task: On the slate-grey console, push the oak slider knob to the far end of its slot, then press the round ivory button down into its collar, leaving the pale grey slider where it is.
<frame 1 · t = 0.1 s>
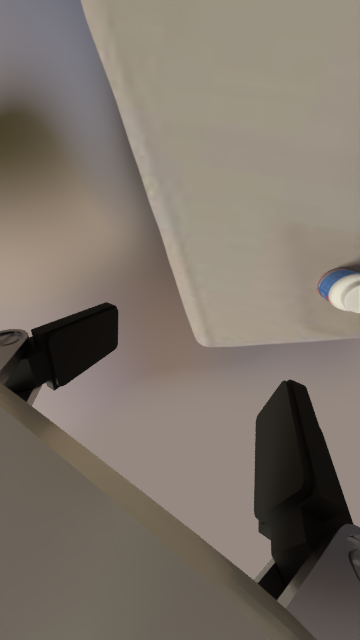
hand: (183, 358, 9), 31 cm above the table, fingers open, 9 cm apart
pill bottle: (334, 283, 29), on the table
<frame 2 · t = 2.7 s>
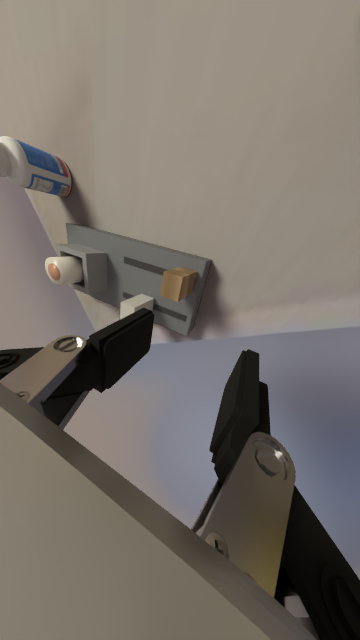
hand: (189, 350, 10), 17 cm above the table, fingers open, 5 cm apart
pill bottle: (62, 179, 29), on the table
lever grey: (137, 308, 26), point 6 cm above the table, slide at 6.0 cm
panel: (135, 275, 30), on the table
lever oak: (179, 283, 21), point 6 cm above the table, slide at 0.0 cm
button ivory: (67, 270, 26), point 8 cm above the table, slide at 0.0 cm
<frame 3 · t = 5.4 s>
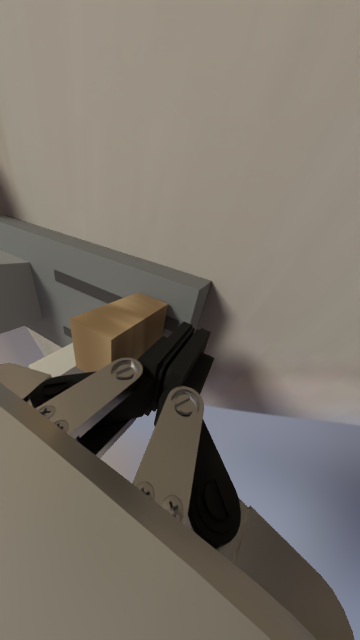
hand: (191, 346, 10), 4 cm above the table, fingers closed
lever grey: (76, 366, 14), point 6 cm above the table, slide at 6.0 cm
panel: (88, 297, 19), on the table
lever oak: (127, 331, 10), point 6 cm above the table, slide at 0.9 cm, touching gripper
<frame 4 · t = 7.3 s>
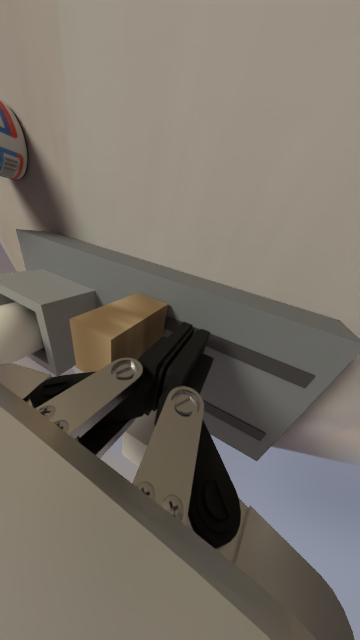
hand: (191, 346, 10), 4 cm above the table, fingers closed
pill bottle: (12, 145, 15), on the table
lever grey: (160, 417, 12), point 6 cm above the table, slide at 6.0 cm
panel: (150, 325, 16), on the table
lever oak: (127, 332, 10), point 6 cm above the table, slide at 9.2 cm, touching gripper
button ivory: (7, 333, 12), point 8 cm above the table, slide at 0.0 cm
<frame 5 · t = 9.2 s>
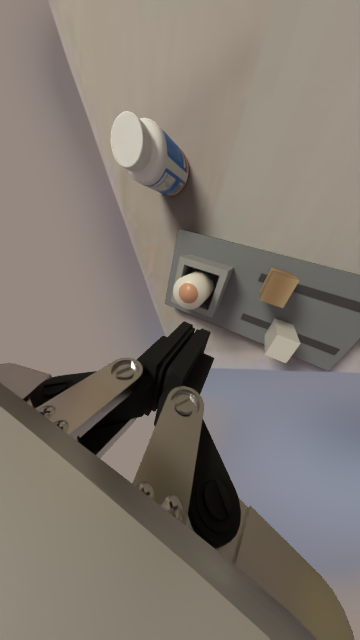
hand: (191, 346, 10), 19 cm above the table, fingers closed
pill bottle: (172, 174, 24), on the table
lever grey: (279, 339, 21), point 6 cm above the table, slide at 6.0 cm
panel: (252, 292, 25), on the table
lever oak: (276, 285, 19), point 6 cm above the table, slide at 9.3 cm
button ivory: (194, 289, 21), point 8 cm above the table, slide at 0.0 cm
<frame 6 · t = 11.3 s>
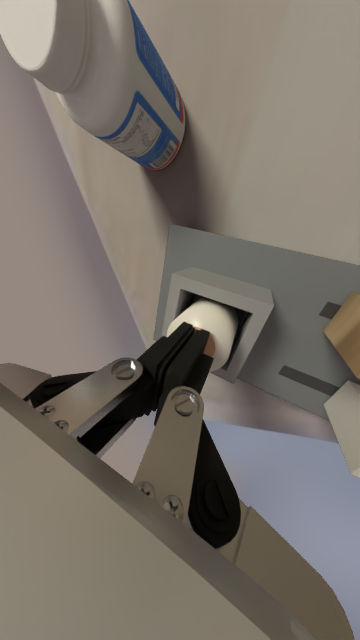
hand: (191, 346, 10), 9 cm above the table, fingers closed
pill bottle: (158, 133, 14), on the table
panel: (296, 327, 15), on the table
button ivory: (204, 330, 12), point 7 cm above the table, slide at 1.0 cm, touching gripper
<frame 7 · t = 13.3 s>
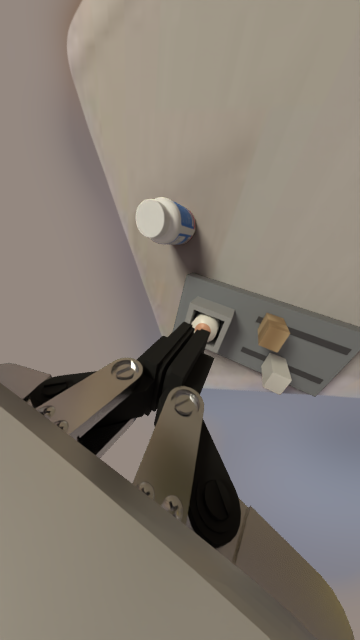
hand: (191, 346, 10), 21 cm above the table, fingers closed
pill bottle: (181, 227, 28), on the table
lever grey: (274, 372, 25), point 6 cm above the table, slide at 6.0 cm
panel: (250, 327, 29), on the table
lever oak: (271, 331, 23), point 6 cm above the table, slide at 9.3 cm
button ivory: (206, 325, 26), point 6 cm above the table, slide at 2.3 cm
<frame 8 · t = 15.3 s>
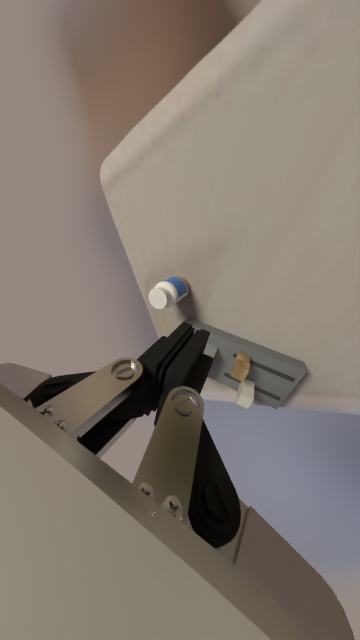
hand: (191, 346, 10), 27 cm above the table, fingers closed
pill bottle: (179, 287, 39), on the table
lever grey: (245, 392, 35), point 6 cm above the table, slide at 6.0 cm
panel: (231, 357, 40), on the table
lever oak: (240, 365, 33), point 6 cm above the table, slide at 9.3 cm
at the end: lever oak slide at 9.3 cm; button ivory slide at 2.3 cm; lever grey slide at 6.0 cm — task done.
